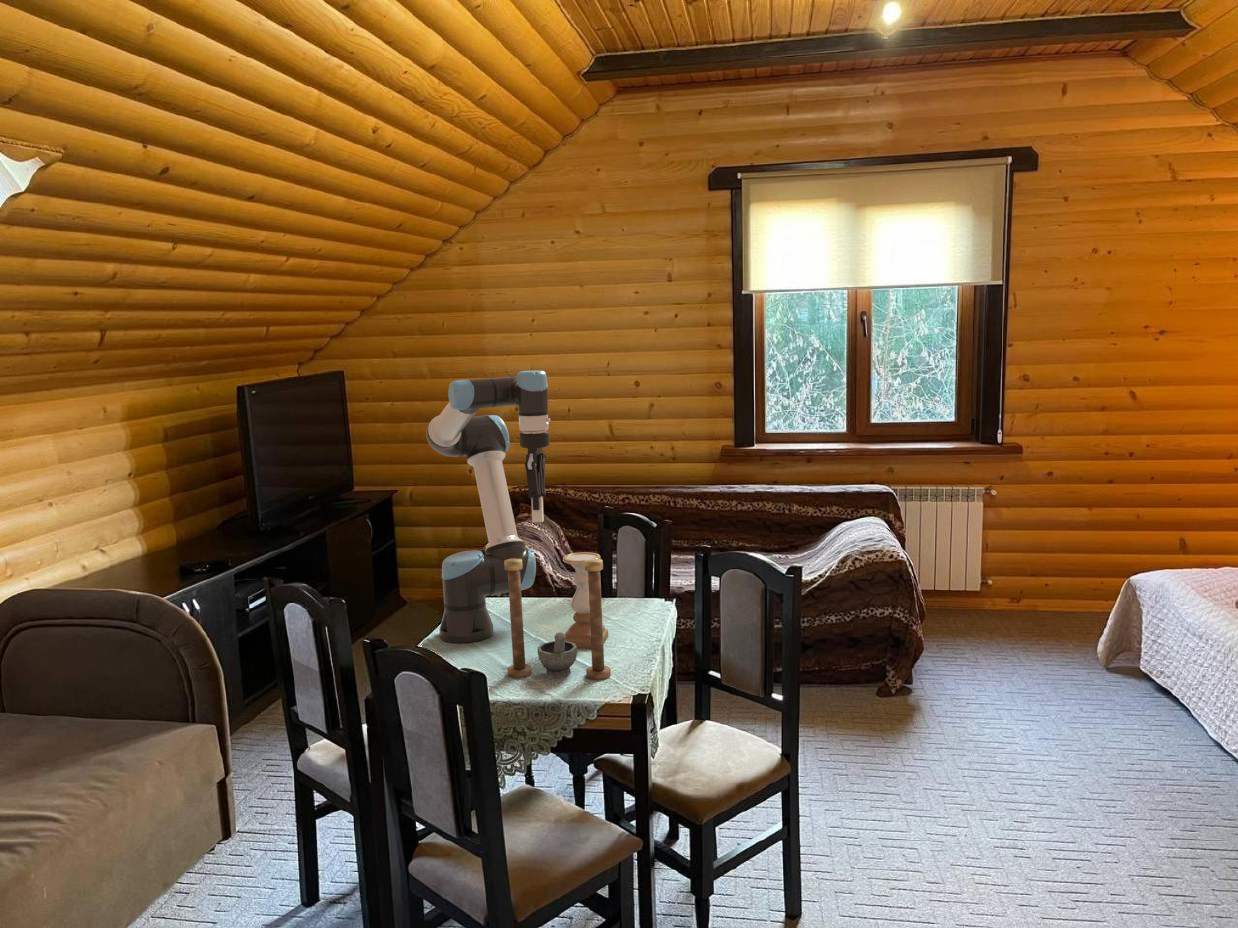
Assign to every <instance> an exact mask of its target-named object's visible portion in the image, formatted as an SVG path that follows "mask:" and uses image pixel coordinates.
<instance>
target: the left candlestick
mask: <svg viewBox="0 0 1238 928" xmlns="http://www.w3.org/2000/svg"><path fill="white" fill-rule="evenodd" d="M504 566H505V570H507V571H508V585H509V592H508V598H509V616H510V634H511V648H512V649H511V651H512V663H513V664H512V665H509V666H508V667H507V668H506V669H507V676H508V677H509V678H512V679H524V678H527V677H530V676H531V675H532V674H533V671H532V670H533V669H532V665H531V664H528V663H527V664H526V655H525V653H526V651H525V637H524V635H525V634H524V617H523V604H522V603H523V601H522V599H523V598H522V590H521V581H520V570H521V569H522V568H523V566H522V559H516V558H515V559H507V560H505V561H504Z"/></svg>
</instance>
